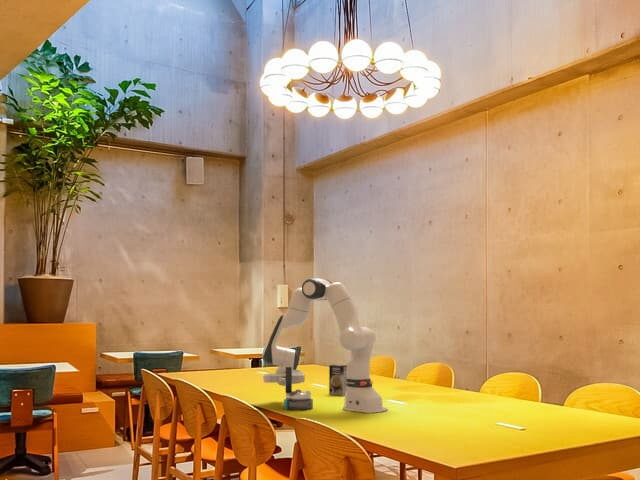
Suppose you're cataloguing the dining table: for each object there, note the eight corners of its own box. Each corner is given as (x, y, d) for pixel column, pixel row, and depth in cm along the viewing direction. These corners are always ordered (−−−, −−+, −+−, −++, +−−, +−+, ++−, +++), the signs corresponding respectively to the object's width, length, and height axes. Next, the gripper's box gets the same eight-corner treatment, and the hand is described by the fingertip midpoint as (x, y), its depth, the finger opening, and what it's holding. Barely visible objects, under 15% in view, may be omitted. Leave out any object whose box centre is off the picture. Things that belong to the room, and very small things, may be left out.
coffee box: (328, 394, 368) (328, 365, 370) (333, 393, 374) (333, 364, 376) (343, 395, 364) (343, 365, 366) (348, 394, 370) (348, 364, 371)
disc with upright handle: (297, 396, 332) (297, 364, 333) (315, 399, 324) (315, 365, 325) (277, 400, 321) (277, 366, 322) (295, 402, 313) (295, 368, 314)
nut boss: (318, 408, 322) (318, 398, 322) (293, 411, 312) (293, 400, 313) (301, 404, 333) (301, 394, 333) (276, 407, 323) (276, 397, 324)
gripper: (263, 370, 333) (262, 373, 319) (303, 370, 335) (305, 373, 321) (263, 383, 333) (262, 386, 319) (303, 382, 334) (305, 386, 320)
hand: (284, 380), depth 320 cm, fingers closed
